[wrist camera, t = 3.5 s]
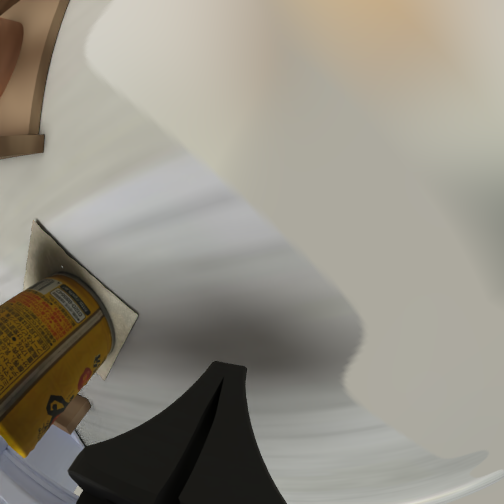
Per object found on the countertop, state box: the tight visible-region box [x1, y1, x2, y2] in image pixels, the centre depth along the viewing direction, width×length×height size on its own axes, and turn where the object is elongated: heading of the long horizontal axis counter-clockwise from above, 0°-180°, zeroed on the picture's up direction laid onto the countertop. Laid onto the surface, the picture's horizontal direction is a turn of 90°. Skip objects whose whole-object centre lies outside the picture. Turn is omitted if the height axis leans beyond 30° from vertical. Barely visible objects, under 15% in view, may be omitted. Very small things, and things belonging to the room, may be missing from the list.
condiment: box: [0, 220, 138, 458], centre depth 8 cm, size 7×8×12 cm
